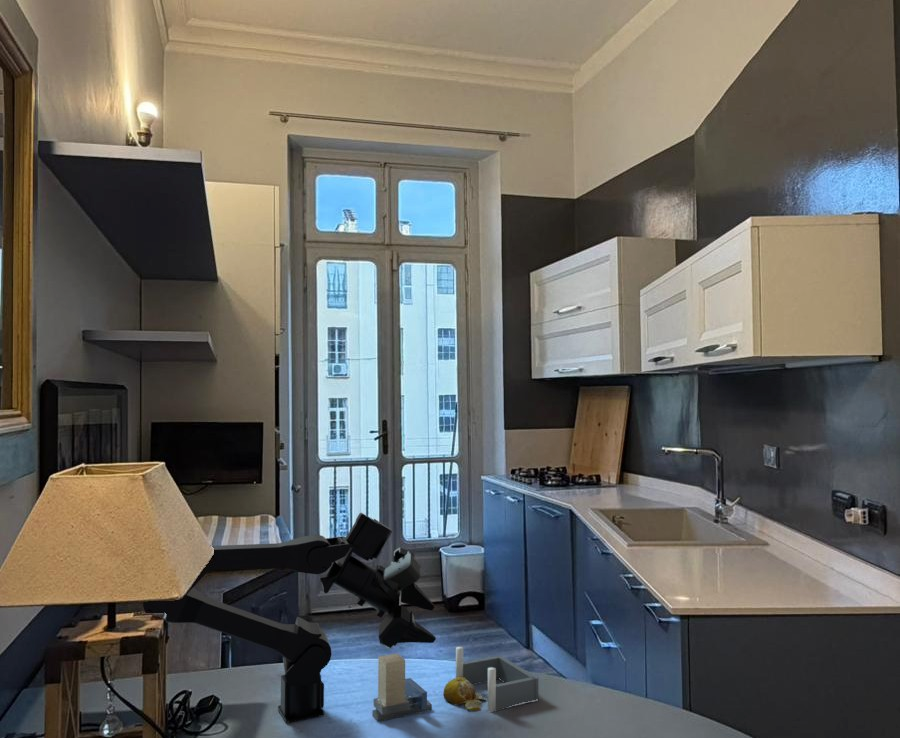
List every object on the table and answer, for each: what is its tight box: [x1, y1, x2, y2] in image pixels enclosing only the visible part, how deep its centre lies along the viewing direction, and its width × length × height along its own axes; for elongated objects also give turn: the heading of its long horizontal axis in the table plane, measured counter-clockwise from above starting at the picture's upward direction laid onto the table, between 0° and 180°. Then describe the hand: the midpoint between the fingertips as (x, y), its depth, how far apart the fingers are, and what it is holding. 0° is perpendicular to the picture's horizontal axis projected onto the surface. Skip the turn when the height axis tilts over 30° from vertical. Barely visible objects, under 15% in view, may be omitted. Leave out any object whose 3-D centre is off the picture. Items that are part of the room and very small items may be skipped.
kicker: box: [373, 653, 428, 715], centre depth 120 cm, size 8×7×8 cm
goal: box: [455, 646, 540, 713], centre depth 128 cm, size 10×13×7 cm
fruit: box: [442, 677, 486, 712], centre depth 125 cm, size 8×8×4 cm
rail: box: [372, 699, 433, 723], centre depth 120 cm, size 10×2×1 cm, turn 117°
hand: (434, 623), depth 127 cm, fingers open, 9 cm apart
